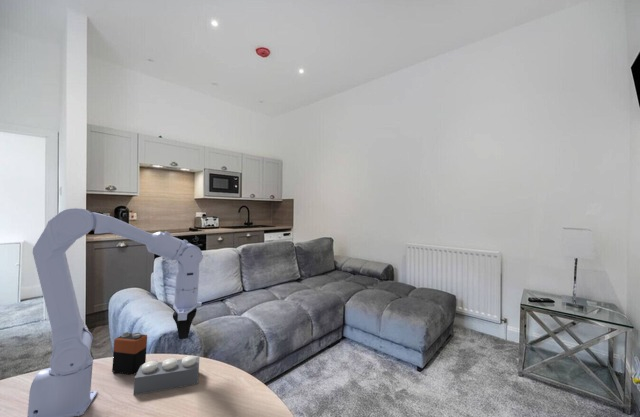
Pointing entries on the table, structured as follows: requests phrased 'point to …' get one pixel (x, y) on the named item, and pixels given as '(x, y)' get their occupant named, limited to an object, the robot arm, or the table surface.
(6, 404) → the table surface
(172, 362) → the knob middle
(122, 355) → the battery
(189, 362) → the knob far
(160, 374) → the mount
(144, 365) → the knob near
